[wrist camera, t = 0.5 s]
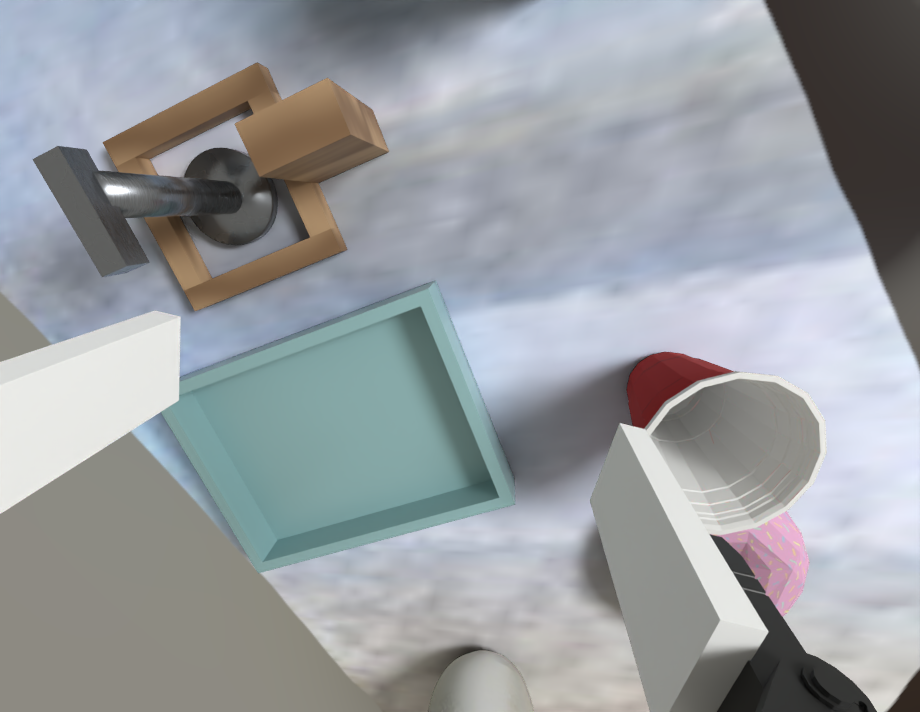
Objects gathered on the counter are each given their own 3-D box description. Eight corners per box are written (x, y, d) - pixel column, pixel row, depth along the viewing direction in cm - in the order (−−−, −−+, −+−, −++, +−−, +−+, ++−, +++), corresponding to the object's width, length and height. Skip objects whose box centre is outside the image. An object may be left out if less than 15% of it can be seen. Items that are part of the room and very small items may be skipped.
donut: (579, 516, 43) (588, 555, 38) (739, 437, 39) (771, 470, 34) (660, 631, 46) (677, 680, 41) (815, 568, 42) (854, 614, 38)
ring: (118, 144, 36) (-2, 126, 28) (341, 30, 32) (282, -32, 24) (206, 307, 40) (123, 335, 31) (416, 221, 36) (388, 226, 27)
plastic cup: (697, 461, 40) (774, 563, 28) (577, 421, 40) (606, 509, 28) (761, 345, 36) (878, 410, 25) (630, 302, 36) (687, 347, 25)
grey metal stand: (175, 170, 36) (-28, 150, 22) (250, 134, 35) (84, 88, 21) (222, 262, 38) (61, 295, 24) (295, 230, 37) (170, 246, 23)
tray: (179, 377, 42) (149, 393, 38) (435, 280, 37) (428, 288, 33) (277, 544, 47) (258, 573, 43) (514, 478, 42) (515, 504, 38)
